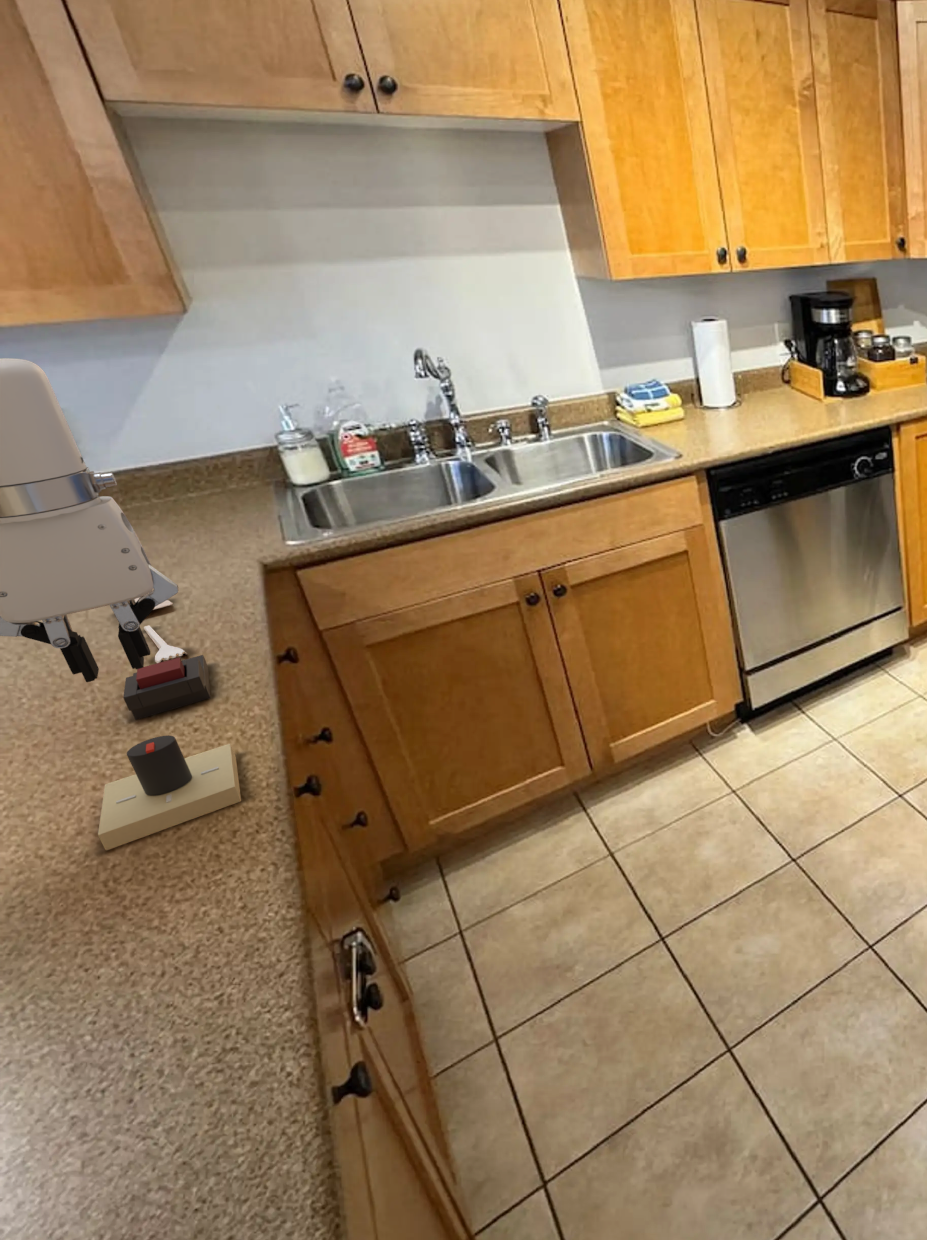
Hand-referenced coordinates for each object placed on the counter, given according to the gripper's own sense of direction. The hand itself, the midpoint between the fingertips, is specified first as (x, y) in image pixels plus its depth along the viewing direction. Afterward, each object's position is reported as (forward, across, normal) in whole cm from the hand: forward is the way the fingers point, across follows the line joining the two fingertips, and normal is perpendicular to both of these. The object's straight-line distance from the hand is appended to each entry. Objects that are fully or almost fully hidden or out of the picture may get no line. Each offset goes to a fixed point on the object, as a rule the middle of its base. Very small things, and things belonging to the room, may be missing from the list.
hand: (115, 668), depth 77 cm
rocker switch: (+16, 0, -32) cm, 35 cm away
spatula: (+16, +5, -82) cm, 83 cm away
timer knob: (+14, 0, 0) cm, 14 cm away
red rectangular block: (+13, 0, -28) cm, 30 cm away
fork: (+16, +2, -51) cm, 54 cm away
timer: (+16, 0, 0) cm, 16 cm away
